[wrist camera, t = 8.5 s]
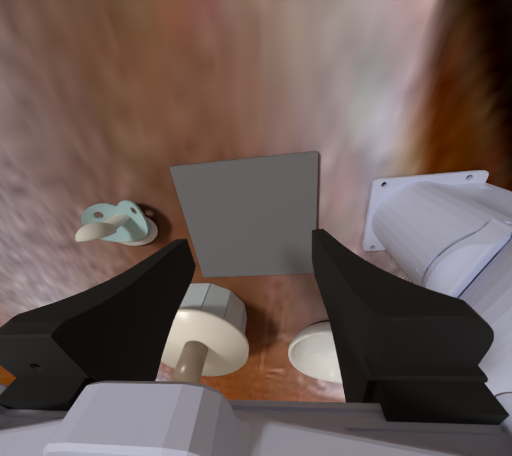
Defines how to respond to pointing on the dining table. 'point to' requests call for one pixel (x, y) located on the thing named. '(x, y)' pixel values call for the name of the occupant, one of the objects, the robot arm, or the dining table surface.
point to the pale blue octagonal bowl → (216, 302)
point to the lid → (203, 346)
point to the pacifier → (117, 224)
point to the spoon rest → (316, 353)
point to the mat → (251, 213)
